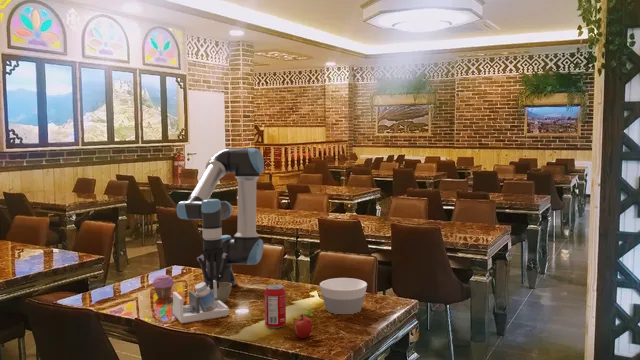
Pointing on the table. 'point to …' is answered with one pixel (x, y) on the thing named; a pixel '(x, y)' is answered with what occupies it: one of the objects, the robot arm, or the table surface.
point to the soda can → (275, 306)
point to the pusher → (193, 303)
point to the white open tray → (189, 316)
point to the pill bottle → (205, 297)
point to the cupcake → (163, 286)
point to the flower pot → (223, 291)
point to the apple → (303, 325)
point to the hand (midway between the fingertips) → (214, 296)
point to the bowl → (343, 295)
